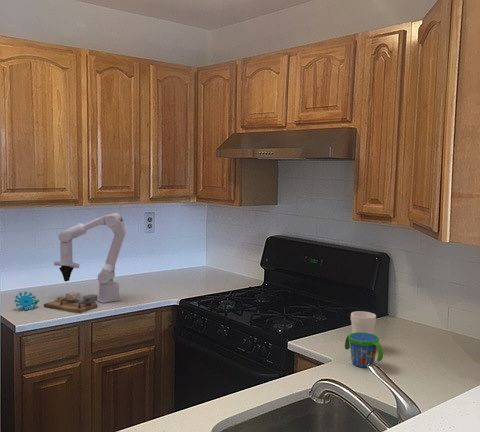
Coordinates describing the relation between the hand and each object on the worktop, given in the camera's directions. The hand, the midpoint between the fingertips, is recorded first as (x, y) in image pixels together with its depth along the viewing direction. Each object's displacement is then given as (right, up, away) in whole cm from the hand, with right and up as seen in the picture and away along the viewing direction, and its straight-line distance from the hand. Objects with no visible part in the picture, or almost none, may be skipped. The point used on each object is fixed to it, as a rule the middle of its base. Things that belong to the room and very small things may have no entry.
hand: (66, 280), depth 269 cm
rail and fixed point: (+7, -9, -12) cm, 17 cm away
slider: (+4, -9, -11) cm, 15 cm away
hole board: (+6, -11, -13) cm, 18 cm away
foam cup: (+134, -19, -60) cm, 148 cm away
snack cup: (+130, -21, -78) cm, 153 cm away
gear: (-13, -11, -17) cm, 24 cm away
